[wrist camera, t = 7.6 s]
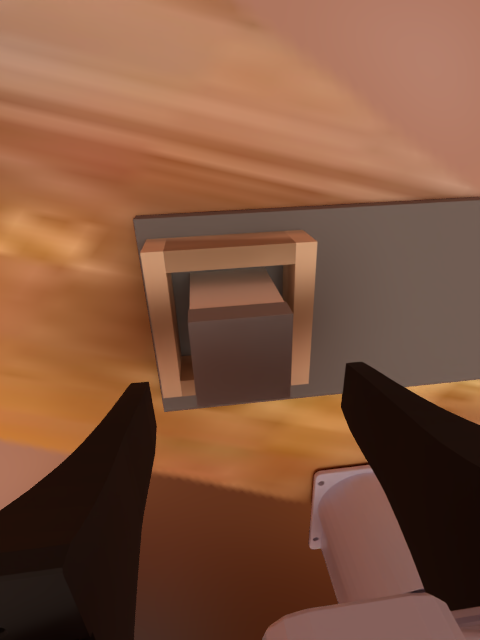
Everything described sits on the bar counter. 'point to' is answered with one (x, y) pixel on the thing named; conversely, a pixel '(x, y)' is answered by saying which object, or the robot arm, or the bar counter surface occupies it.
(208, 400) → the plug
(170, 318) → the frame
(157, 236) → the mat
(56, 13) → the bar counter surface
